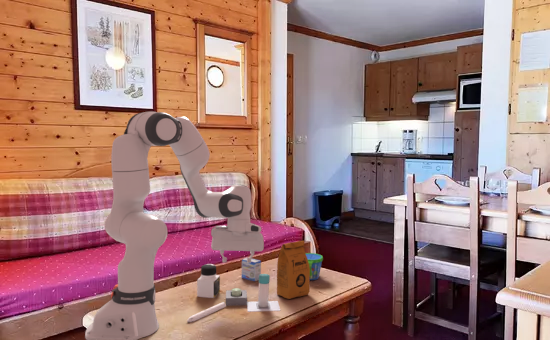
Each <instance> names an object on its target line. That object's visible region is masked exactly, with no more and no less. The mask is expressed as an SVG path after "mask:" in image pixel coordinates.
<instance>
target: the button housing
mask: <svg viewBox="0 0 550 340" xmlns="http://www.w3.org/2000/svg"><path fill="white" fill-rule="evenodd" d="M247 292H248V291H247V289H241V296H232V289H231V290H226V289H225V304H226V307H227V306H231V307H233V306H247V302H248V293H247Z"/></svg>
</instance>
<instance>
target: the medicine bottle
mask: <svg viewBox="0 0 550 340" xmlns="http://www.w3.org/2000/svg"><path fill="white" fill-rule="evenodd" d="M220 276H221V275H220V274H217V265H215V264H212V263H207V264H204V265H203V264H202V265H201V268H200V277H199V278H197V281H196V287H197V288H196V290H197V292H196V296H197V297H199V298H206V299H215V298H216V297H217V295H218V294H219V293H220V292H221V291H220V290H221V289H220V288H221V277H220Z"/></svg>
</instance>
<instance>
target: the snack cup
mask: <svg viewBox="0 0 550 340" xmlns="http://www.w3.org/2000/svg"><path fill="white" fill-rule="evenodd" d="M305 254H306V256H307V259H308V263H309V268H310V277H309V281H316V280H319V278H320V273H321V268H322V262H323V261H324V257H323V255H321V254H318V253H315V252H313V253H312V252H308V253H307V252H305Z"/></svg>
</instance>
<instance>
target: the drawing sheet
mask: <svg viewBox="0 0 550 340" xmlns="http://www.w3.org/2000/svg"><path fill="white" fill-rule="evenodd" d="M246 308H247V312H249V313H251V312H252V313H253V312H280V311H281V307H280V305H279V301H278V300H268V307H265V308H262V307H259V306H258V300H257V301H247V305H246Z"/></svg>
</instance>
